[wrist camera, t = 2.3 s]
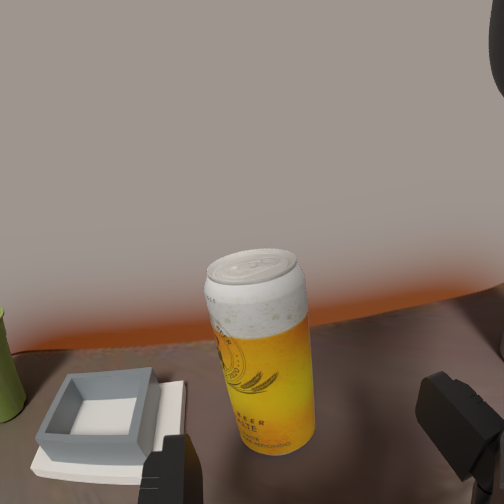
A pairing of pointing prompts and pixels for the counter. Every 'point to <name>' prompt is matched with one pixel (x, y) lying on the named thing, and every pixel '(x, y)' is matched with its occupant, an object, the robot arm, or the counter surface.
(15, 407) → the plant pot
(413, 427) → the counter surface
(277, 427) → the beer can
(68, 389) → the dock
